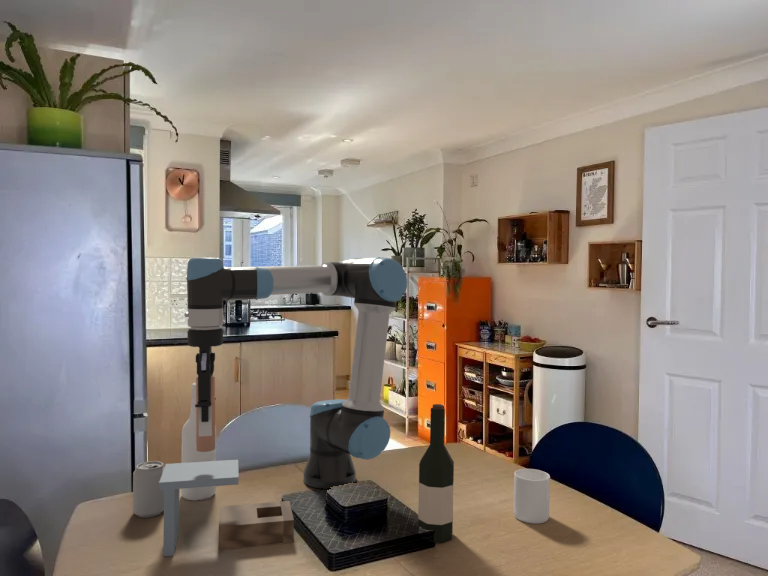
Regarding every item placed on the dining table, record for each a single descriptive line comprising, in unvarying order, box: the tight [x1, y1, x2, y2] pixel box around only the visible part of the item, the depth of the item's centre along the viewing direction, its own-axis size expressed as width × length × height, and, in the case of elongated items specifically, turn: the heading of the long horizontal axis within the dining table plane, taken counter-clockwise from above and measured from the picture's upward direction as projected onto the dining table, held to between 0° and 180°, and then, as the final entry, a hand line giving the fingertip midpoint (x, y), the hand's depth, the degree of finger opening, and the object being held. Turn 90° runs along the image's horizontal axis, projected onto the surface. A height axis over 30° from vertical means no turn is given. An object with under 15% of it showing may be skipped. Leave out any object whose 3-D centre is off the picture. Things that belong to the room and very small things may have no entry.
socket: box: [217, 500, 295, 551], centre depth 129 cm, size 16×11×5 cm
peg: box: [195, 375, 216, 452], centre depth 126 cm, size 4×4×16 cm
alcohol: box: [180, 382, 217, 502], centre depth 151 cm, size 9×9×30 cm
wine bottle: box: [417, 403, 455, 544], centre depth 130 cm, size 8×8×30 cm
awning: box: [159, 459, 240, 557], centre depth 126 cm, size 16×12×16 cm
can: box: [132, 460, 165, 519], centre depth 140 cm, size 8×8×12 cm
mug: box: [513, 468, 551, 525], centre depth 143 cm, size 9×12×11 cm
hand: (206, 432), depth 126 cm, fingers closed on peg, 4 cm apart
